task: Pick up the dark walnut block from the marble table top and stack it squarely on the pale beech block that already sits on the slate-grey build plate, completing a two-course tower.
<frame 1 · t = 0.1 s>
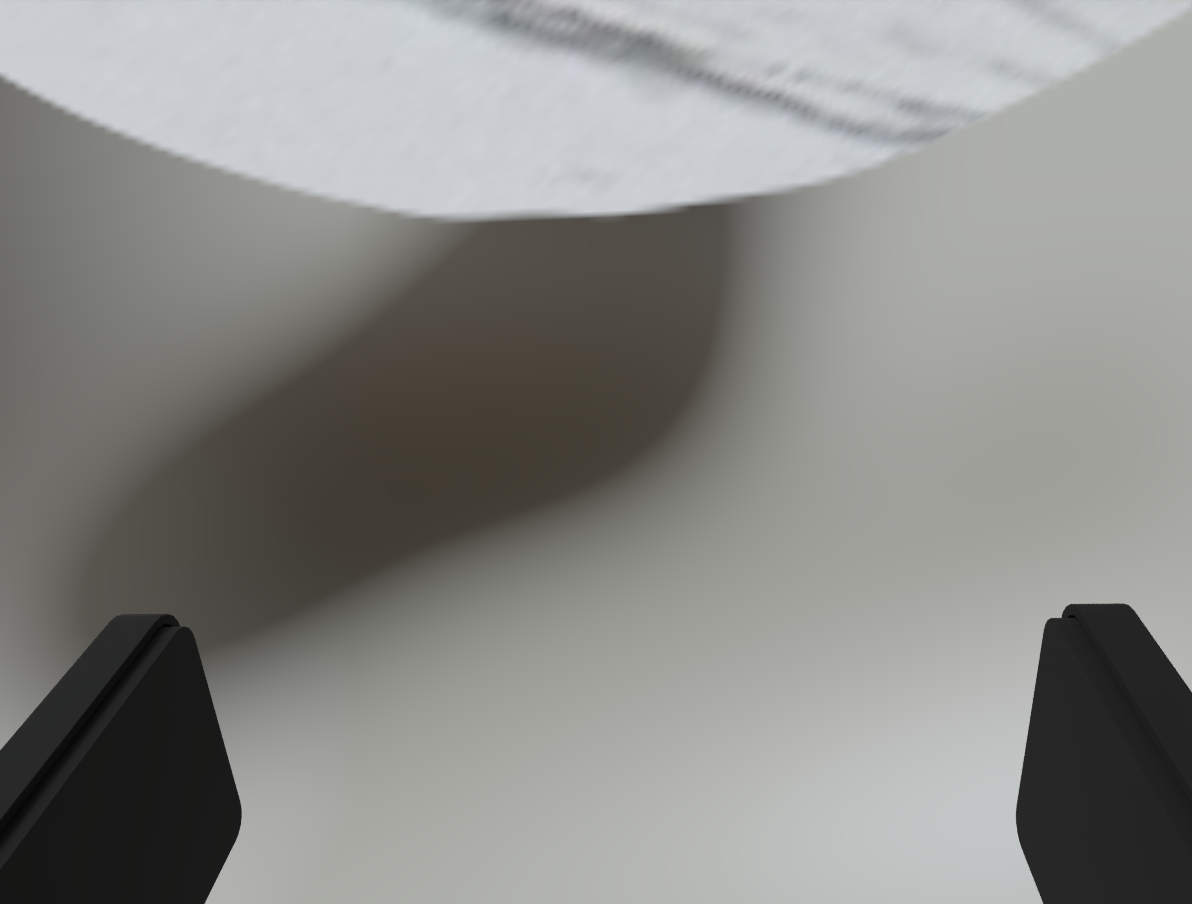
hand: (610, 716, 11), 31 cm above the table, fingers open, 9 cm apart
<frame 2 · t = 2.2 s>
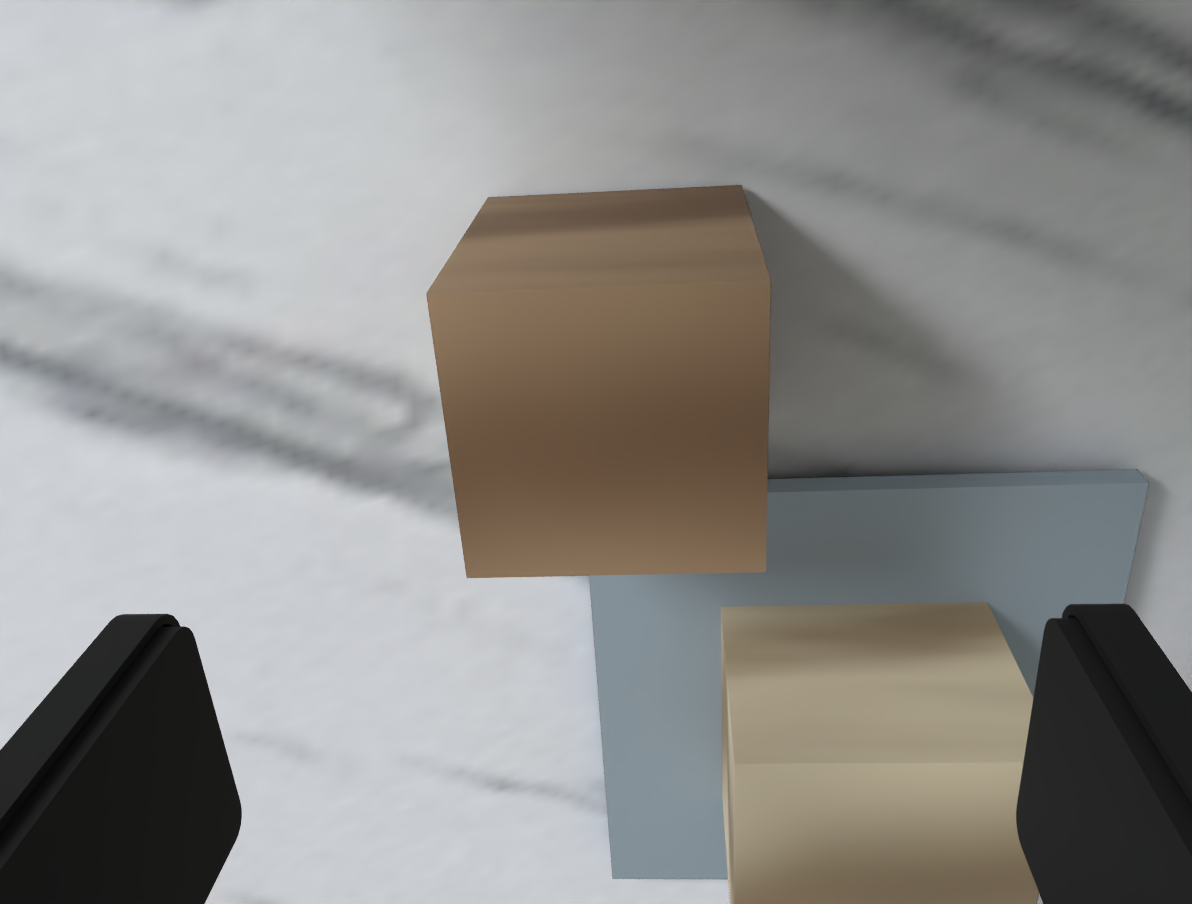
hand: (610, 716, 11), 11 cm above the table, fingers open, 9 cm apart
build plate: (842, 689, 25), on the table
beech block: (846, 706, 25), point 1 cm above the table, touching build plate
walnut block: (620, 312, 21), on the table
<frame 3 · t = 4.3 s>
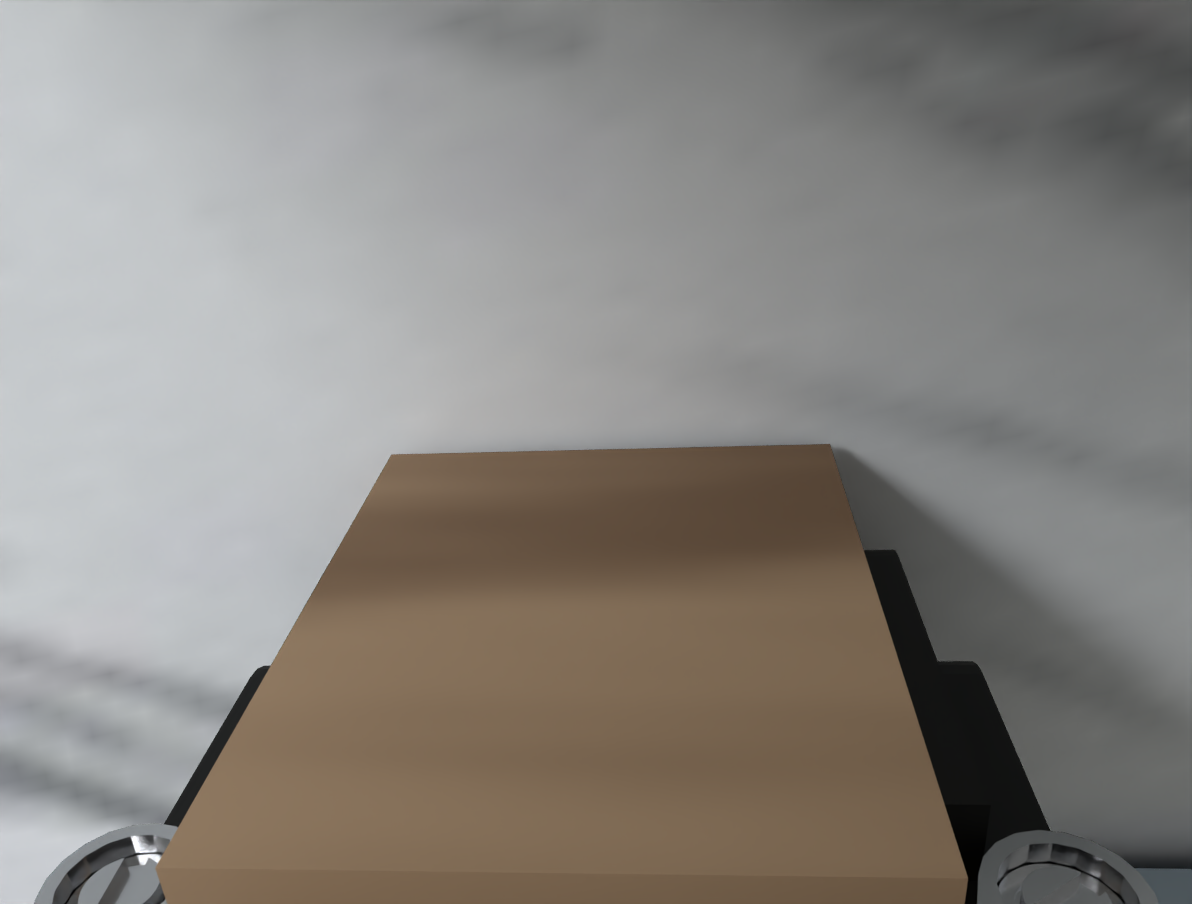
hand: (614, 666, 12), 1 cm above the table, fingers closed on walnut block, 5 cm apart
walnut block: (617, 631, 13), on the table, touching gripper
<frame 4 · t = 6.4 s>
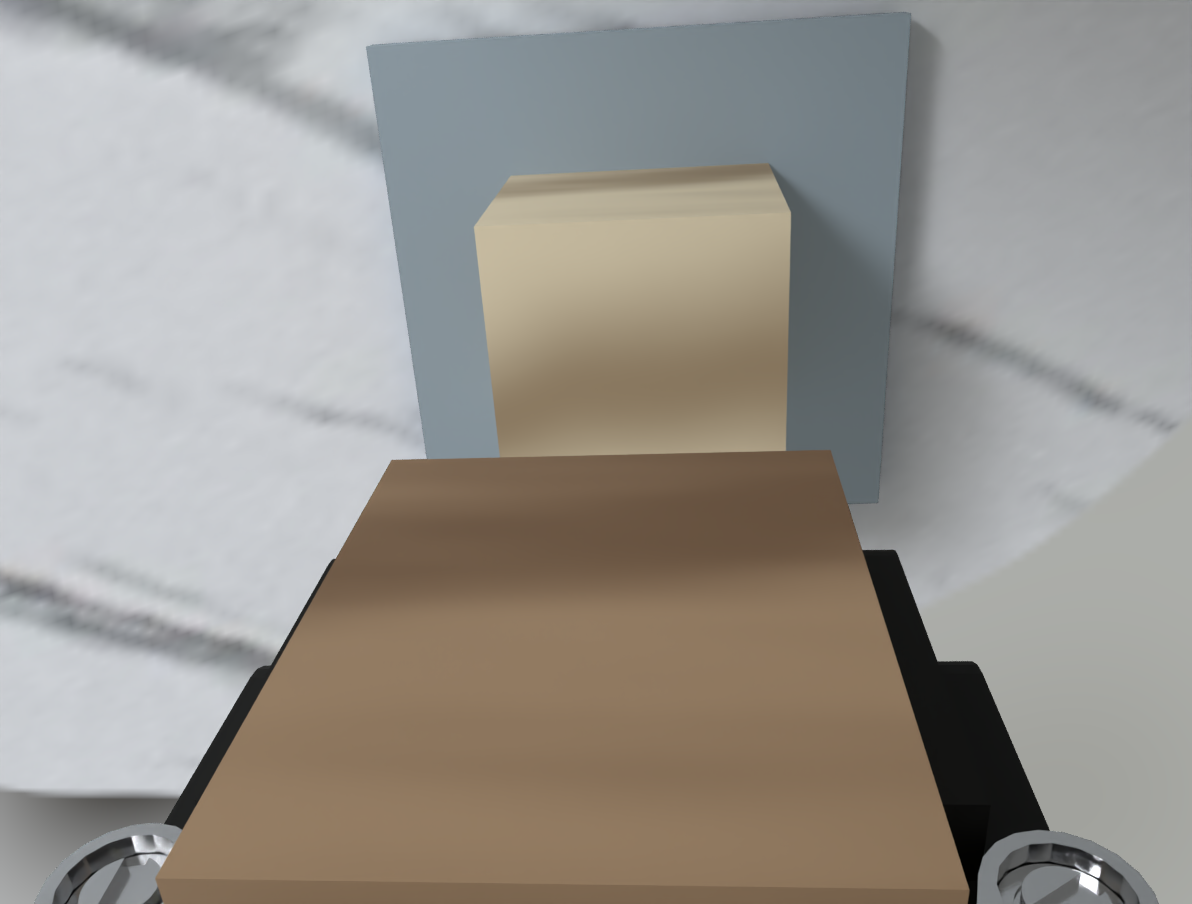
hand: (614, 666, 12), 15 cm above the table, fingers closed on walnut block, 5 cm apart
build plate: (643, 286, 26), on the table
beech block: (643, 293, 25), point 1 cm above the table, touching build plate
walnut block: (617, 636, 13), point 14 cm above the table, touching gripper
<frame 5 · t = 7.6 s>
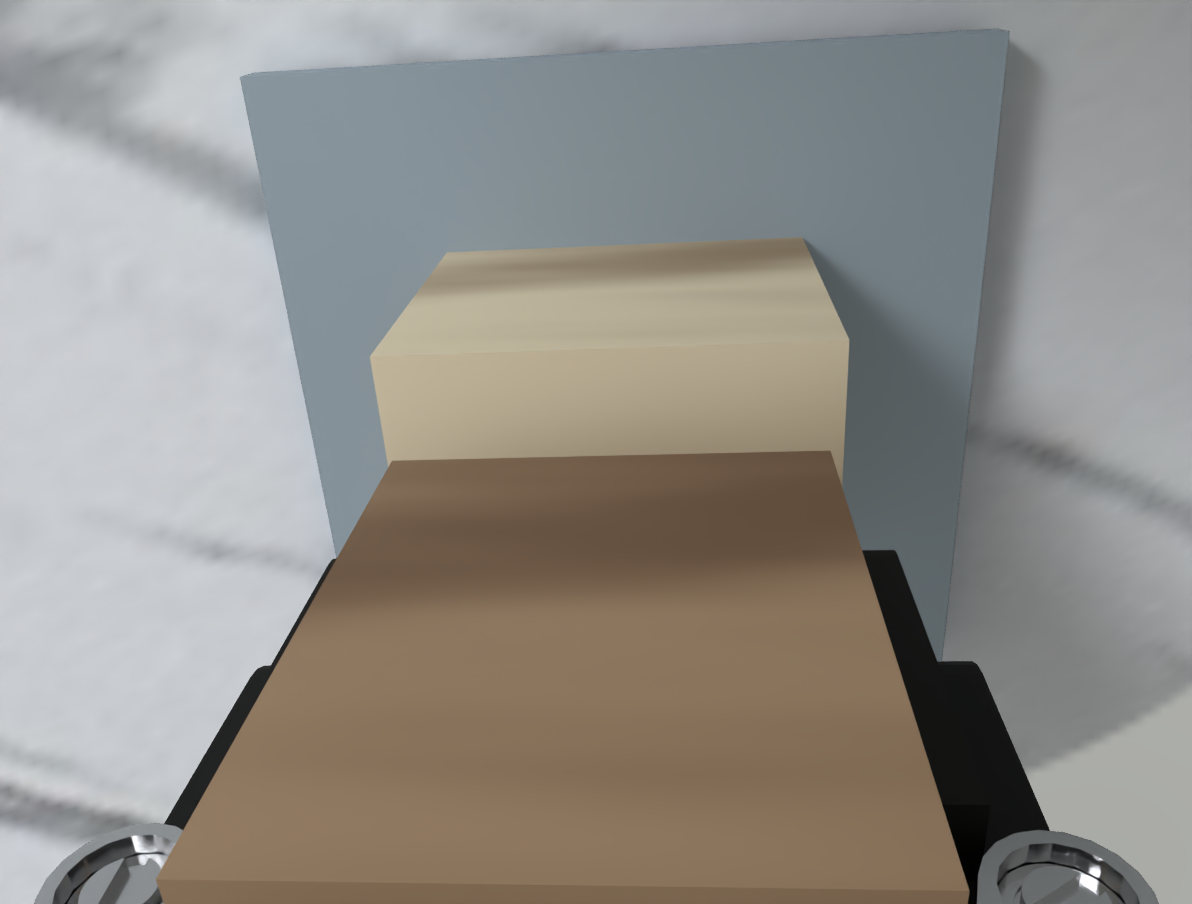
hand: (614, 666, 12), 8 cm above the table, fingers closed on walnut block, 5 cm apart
build plate: (631, 395, 19), on the table
beech block: (630, 408, 19), point 1 cm above the table, touching build plate
walnut block: (618, 636, 13), point 7 cm above the table, touching gripper
when the fingers open (7 cm above the table, at t = 8.5 s): walnut block stays where it is, resting on beech block.
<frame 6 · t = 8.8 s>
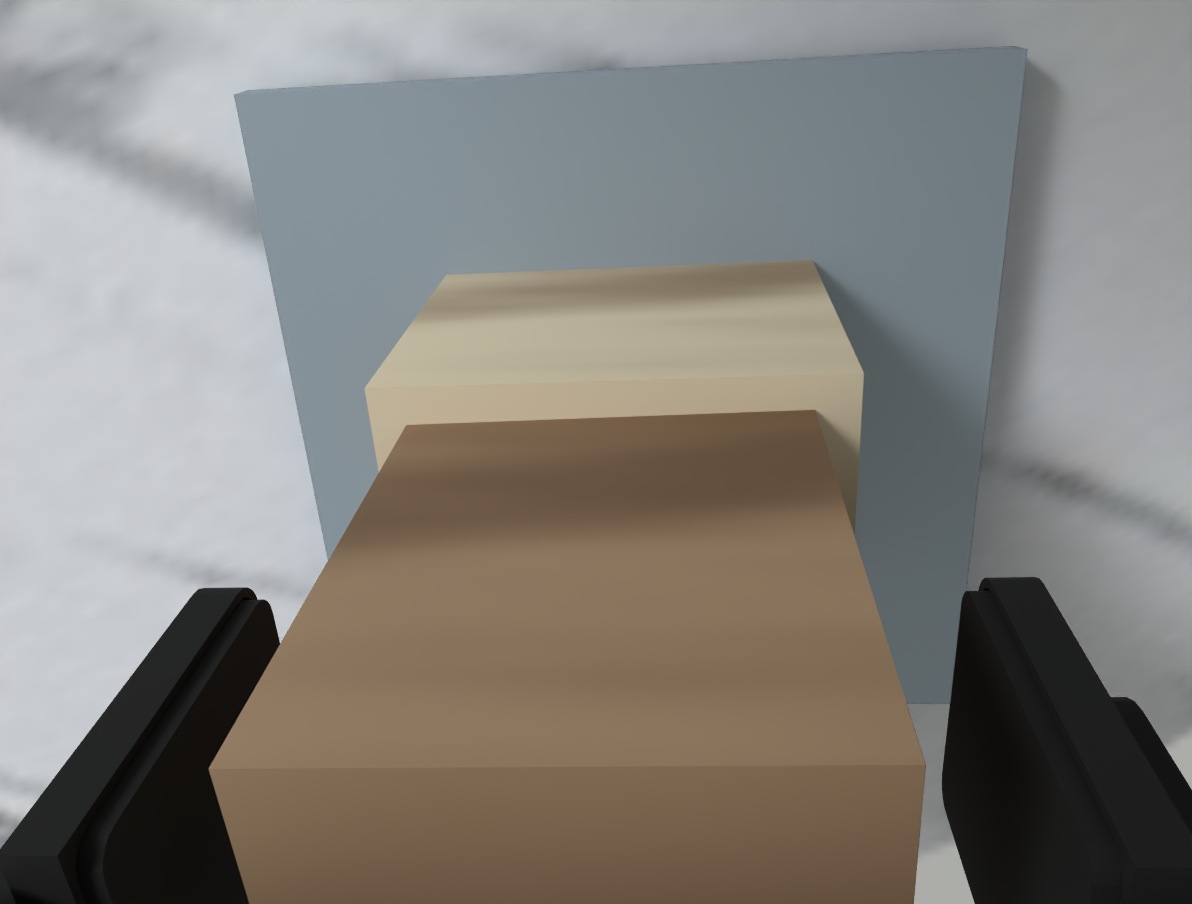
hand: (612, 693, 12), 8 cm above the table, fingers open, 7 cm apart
build plate: (635, 419, 19), on the table
beech block: (634, 434, 18), point 1 cm above the table, touching build plate, walnut block
walnut block: (619, 590, 14), point 6 cm above the table, touching beech block
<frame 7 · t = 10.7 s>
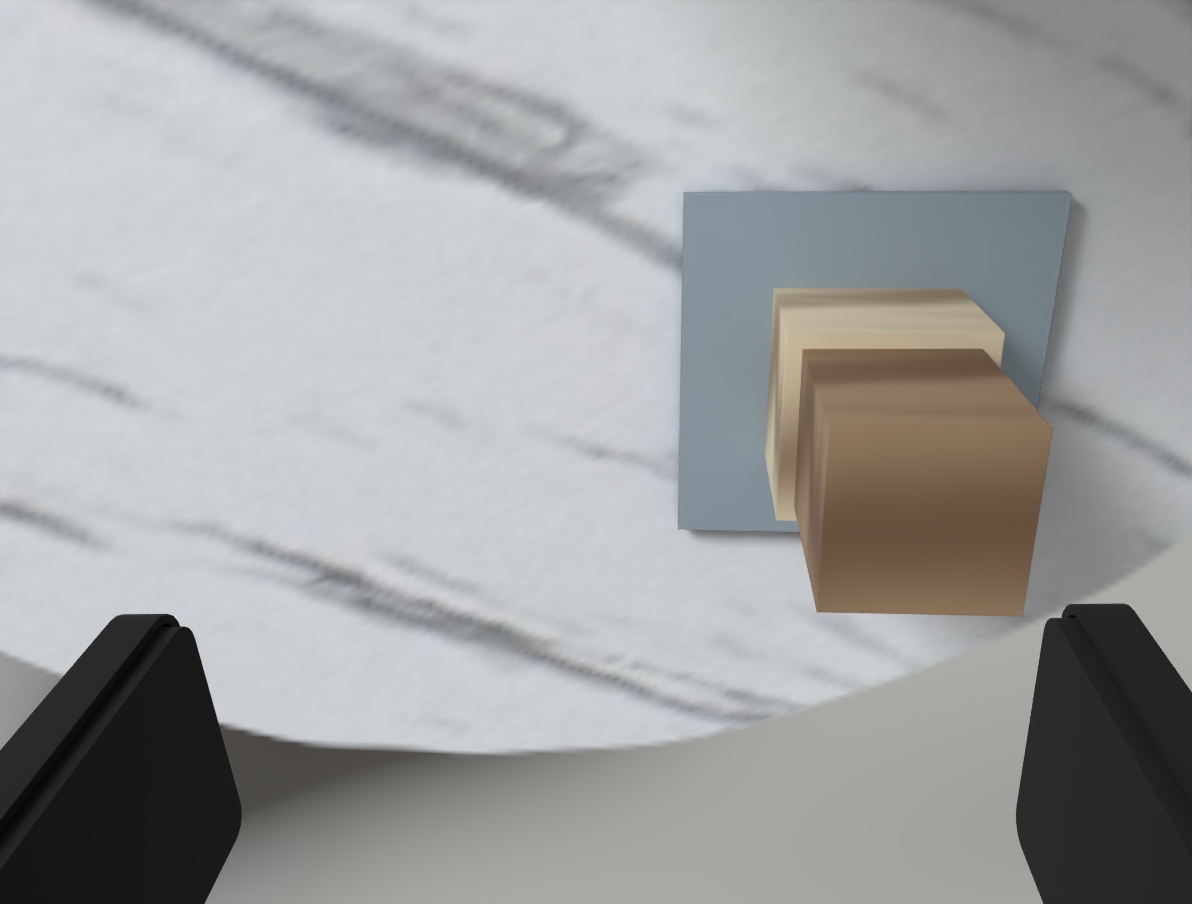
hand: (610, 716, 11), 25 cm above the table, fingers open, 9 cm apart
build plate: (856, 369, 35), on the table
beech block: (858, 375, 35), point 1 cm above the table, touching build plate, walnut block
walnut block: (884, 430, 30), point 6 cm above the table, touching beech block
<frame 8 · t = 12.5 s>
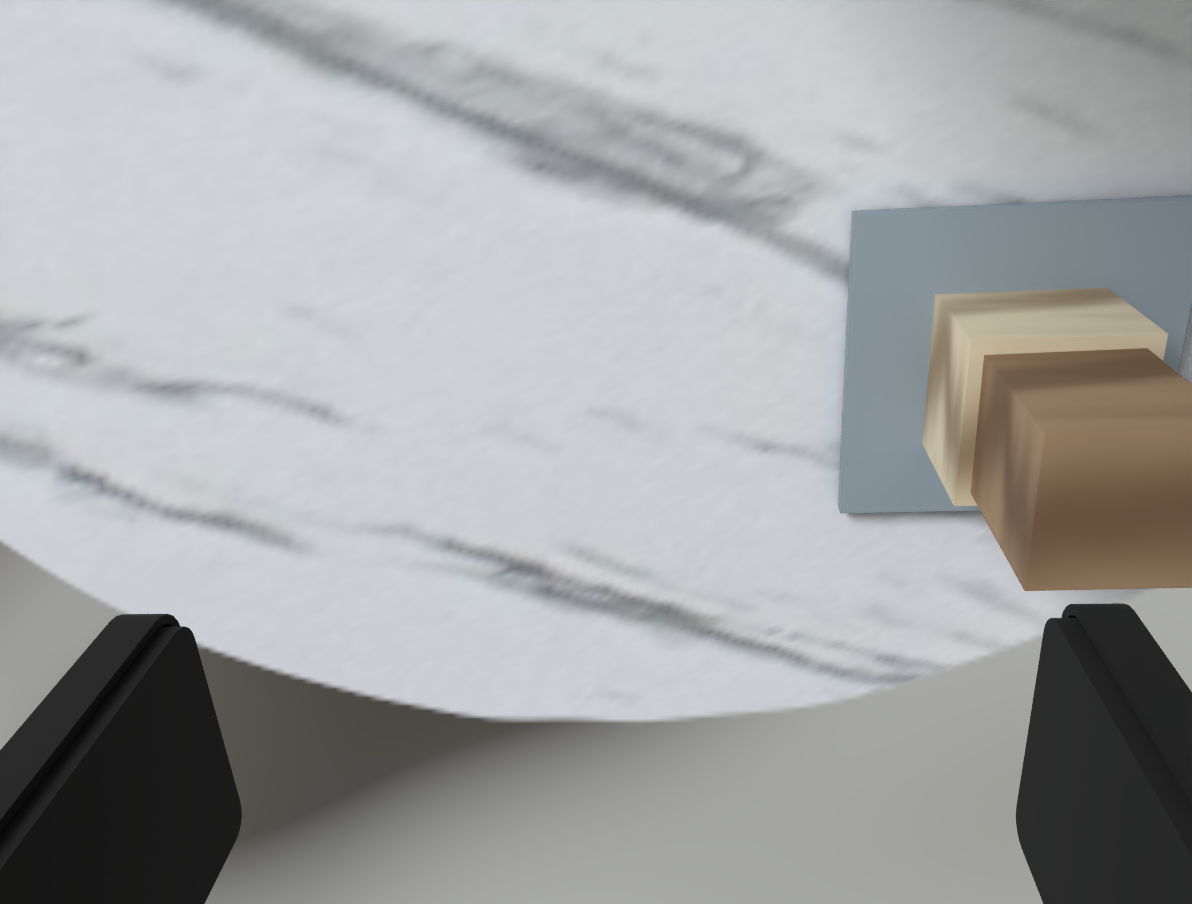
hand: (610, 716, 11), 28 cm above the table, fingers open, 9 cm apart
build plate: (1006, 363, 39), on the table
beech block: (1011, 369, 38), point 1 cm above the table, touching build plate, walnut block
walnut block: (1055, 423, 34), point 6 cm above the table, touching beech block
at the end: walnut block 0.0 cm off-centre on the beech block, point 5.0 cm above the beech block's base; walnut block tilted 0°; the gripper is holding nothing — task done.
